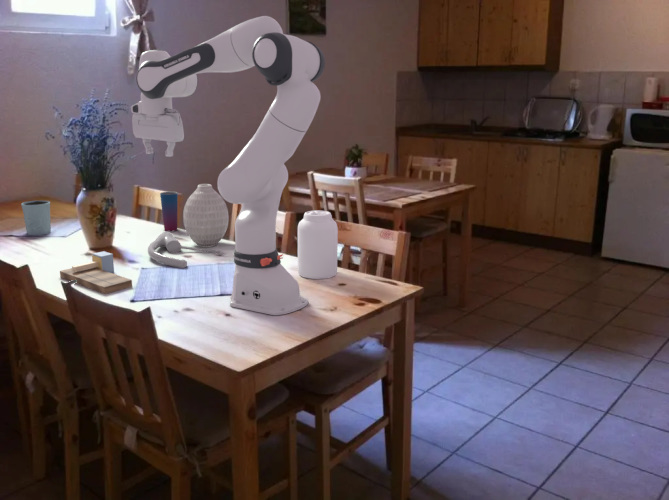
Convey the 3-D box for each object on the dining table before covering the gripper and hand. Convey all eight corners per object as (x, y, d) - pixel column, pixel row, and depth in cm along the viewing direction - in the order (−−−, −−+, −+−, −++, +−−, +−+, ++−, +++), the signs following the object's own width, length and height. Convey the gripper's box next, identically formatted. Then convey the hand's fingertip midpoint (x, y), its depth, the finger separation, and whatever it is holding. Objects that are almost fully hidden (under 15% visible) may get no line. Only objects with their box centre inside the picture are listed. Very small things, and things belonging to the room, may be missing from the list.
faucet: (234, 255, 234) (209, 277, 207) (160, 243, 237) (127, 263, 210) (235, 242, 233) (210, 263, 206) (161, 230, 235) (127, 249, 209)
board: (132, 286, 189) (131, 279, 189) (104, 293, 182) (104, 287, 182) (87, 270, 204) (86, 264, 203) (60, 277, 197) (59, 270, 196)
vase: (220, 251, 228) (218, 189, 222) (177, 249, 231) (174, 187, 225) (235, 240, 244) (233, 182, 238) (194, 238, 246) (191, 180, 240)
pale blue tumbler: (26, 236, 245) (22, 205, 242) (23, 231, 253) (20, 201, 250) (54, 234, 250) (51, 203, 247) (51, 228, 258) (48, 199, 255)
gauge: (114, 272, 203) (112, 253, 201) (78, 281, 194) (77, 261, 192) (105, 269, 206) (103, 251, 204) (70, 277, 197) (68, 258, 195)
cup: (171, 227, 264) (169, 190, 260) (183, 229, 260) (181, 192, 256) (158, 230, 258) (156, 193, 254) (169, 232, 254) (167, 195, 251)
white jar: (291, 277, 200) (291, 214, 195) (306, 266, 212) (306, 206, 207) (328, 281, 196) (329, 217, 191) (342, 270, 208) (343, 210, 202)
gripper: (188, 109, 185) (190, 157, 189) (145, 106, 197) (147, 151, 201) (170, 109, 180) (172, 159, 184) (127, 106, 192) (130, 153, 196)
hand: (159, 155), depth 192 cm, fingers open, 8 cm apart
